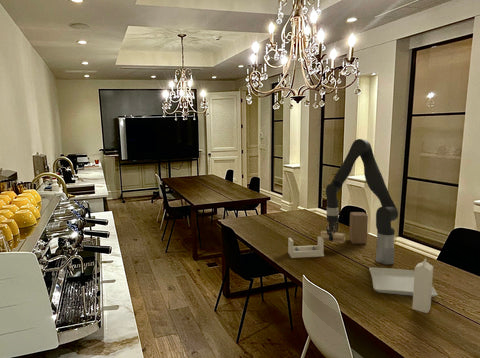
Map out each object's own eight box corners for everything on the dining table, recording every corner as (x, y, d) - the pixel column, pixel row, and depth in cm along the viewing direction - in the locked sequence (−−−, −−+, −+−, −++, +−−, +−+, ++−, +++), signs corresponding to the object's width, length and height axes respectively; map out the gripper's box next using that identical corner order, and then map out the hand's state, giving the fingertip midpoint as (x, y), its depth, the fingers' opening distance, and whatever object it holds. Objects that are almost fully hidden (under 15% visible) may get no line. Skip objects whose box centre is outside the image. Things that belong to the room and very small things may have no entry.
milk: (430, 308, 149) (434, 259, 146) (427, 313, 144) (431, 263, 141) (415, 303, 153) (418, 256, 150) (411, 309, 148) (415, 260, 145)
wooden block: (363, 239, 241) (364, 211, 238) (367, 244, 231) (368, 215, 228) (348, 239, 242) (349, 211, 239) (352, 244, 232) (352, 215, 229)
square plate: (423, 277, 180) (423, 270, 179) (438, 302, 154) (438, 294, 153) (368, 272, 187) (368, 265, 187) (373, 295, 161) (373, 288, 161)
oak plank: (342, 243, 216) (342, 235, 216) (320, 239, 226) (320, 232, 225) (345, 241, 220) (345, 233, 219) (323, 237, 229) (323, 230, 229)
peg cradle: (324, 256, 211) (324, 240, 209) (291, 257, 209) (291, 242, 207) (319, 250, 221) (319, 235, 219) (287, 252, 219) (287, 237, 217)
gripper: (333, 216, 213) (333, 243, 215) (342, 212, 224) (342, 238, 226) (322, 215, 218) (322, 241, 220) (331, 211, 229) (331, 236, 231)
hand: (332, 239), depth 223 cm, fingers closed on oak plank, 4 cm apart
